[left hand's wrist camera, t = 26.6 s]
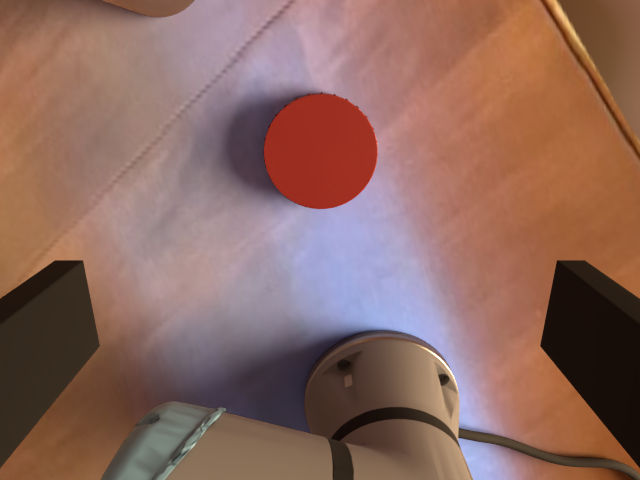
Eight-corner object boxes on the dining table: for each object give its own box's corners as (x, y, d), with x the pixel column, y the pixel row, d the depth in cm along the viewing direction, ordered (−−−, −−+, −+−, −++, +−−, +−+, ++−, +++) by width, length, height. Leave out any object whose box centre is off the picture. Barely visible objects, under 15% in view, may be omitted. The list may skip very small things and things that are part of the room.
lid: (319, 223, 40) (319, 231, 38) (243, 148, 37) (239, 152, 35) (397, 151, 38) (402, 155, 35) (322, 67, 35) (322, 66, 33)
